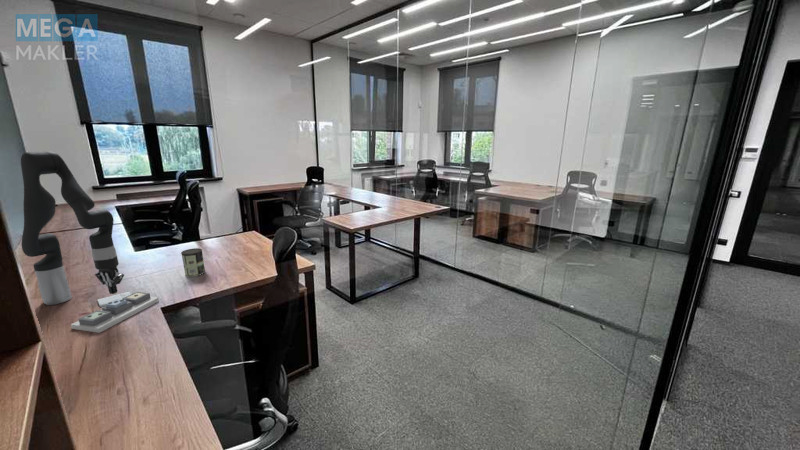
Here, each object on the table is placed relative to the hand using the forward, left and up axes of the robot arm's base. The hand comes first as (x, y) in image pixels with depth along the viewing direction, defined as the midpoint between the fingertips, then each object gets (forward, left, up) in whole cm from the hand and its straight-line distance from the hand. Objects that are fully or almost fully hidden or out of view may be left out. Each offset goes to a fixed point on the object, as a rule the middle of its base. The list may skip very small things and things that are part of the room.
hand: (113, 293), depth 141 cm
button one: (0, +9, -8) cm, 12 cm away
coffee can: (-2, +46, -11) cm, 47 cm away
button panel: (0, 0, -10) cm, 10 cm away
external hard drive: (-15, +11, -11) cm, 21 cm away
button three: (0, 0, -7) cm, 7 cm away
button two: (0, -9, -8) cm, 12 cm away
